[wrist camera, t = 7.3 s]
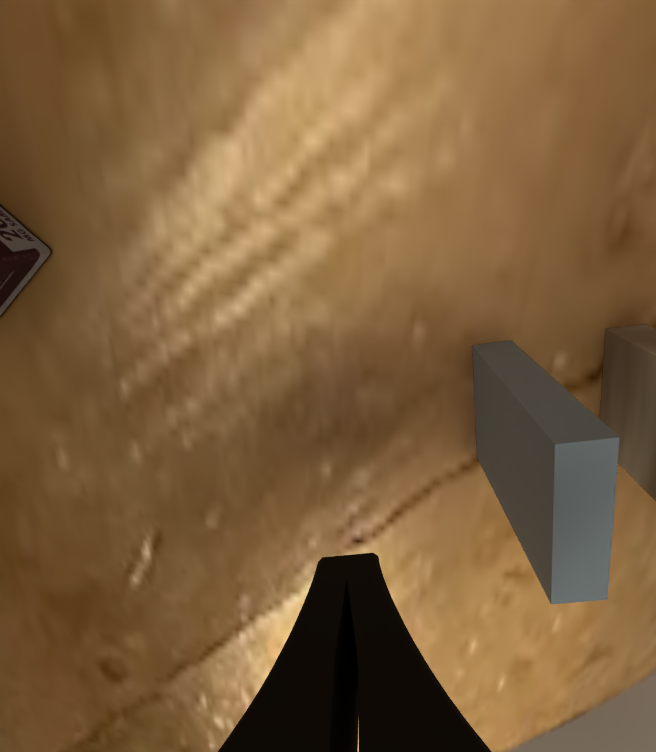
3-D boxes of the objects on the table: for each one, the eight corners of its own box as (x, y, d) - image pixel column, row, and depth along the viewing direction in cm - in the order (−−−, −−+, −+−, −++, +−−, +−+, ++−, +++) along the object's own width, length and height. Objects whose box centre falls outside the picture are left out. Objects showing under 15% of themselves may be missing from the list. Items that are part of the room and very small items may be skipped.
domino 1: (511, 340, 19) (619, 437, 12) (512, 452, 21) (607, 599, 14) (472, 345, 19) (554, 444, 12) (476, 456, 21) (550, 604, 14)
